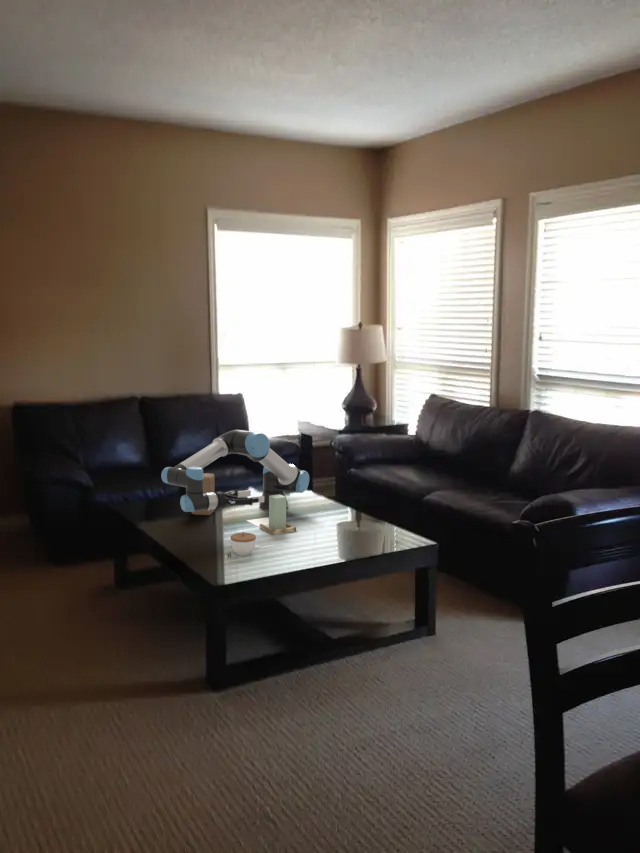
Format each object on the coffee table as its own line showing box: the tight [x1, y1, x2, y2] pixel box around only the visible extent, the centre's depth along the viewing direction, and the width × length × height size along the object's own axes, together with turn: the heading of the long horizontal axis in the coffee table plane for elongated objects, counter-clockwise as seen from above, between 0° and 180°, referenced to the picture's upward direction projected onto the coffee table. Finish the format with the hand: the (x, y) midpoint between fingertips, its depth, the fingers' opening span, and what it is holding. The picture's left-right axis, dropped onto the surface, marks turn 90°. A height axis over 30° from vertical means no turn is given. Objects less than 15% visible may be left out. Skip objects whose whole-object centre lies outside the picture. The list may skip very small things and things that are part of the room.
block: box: [191, 472, 216, 516], centre depth 382 cm, size 10×10×20 cm
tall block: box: [268, 494, 287, 530], centre depth 354 cm, size 6×6×16 cm
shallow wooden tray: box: [259, 522, 297, 536], centre depth 354 cm, size 12×13×2 cm
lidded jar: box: [230, 531, 257, 557], centre depth 318 cm, size 11×11×9 cm
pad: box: [245, 516, 269, 527], centre depth 367 cm, size 12×12×1 cm
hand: (257, 495), depth 346 cm, fingers open, 13 cm apart
